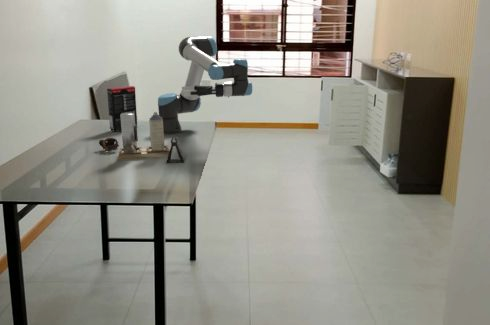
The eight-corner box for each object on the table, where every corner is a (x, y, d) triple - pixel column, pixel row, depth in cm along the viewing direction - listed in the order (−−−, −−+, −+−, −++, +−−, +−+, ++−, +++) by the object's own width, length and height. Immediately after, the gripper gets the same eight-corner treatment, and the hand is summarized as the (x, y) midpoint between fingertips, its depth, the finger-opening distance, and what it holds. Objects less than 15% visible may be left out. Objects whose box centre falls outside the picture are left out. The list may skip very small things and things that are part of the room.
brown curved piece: (122, 149, 289) (121, 138, 283) (114, 160, 283) (113, 149, 277) (103, 143, 291) (101, 132, 285) (94, 154, 284) (92, 143, 279)
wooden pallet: (119, 155, 275) (118, 148, 274) (169, 151, 280) (168, 145, 279) (118, 160, 265) (118, 153, 264) (170, 156, 269) (170, 150, 268)
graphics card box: (133, 126, 346) (129, 85, 339) (138, 128, 341) (135, 86, 334) (109, 130, 335) (105, 88, 328) (115, 132, 330) (111, 89, 323)
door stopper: (185, 159, 264) (183, 136, 261) (184, 162, 258) (182, 139, 255) (167, 160, 263) (165, 136, 260) (166, 163, 258) (164, 139, 254)
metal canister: (123, 151, 273) (120, 113, 268) (138, 150, 274) (135, 112, 269) (123, 154, 266) (119, 115, 261) (138, 153, 268) (135, 114, 262)
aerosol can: (165, 148, 276) (162, 110, 271) (164, 151, 270) (161, 113, 264) (151, 148, 276) (149, 111, 270) (150, 152, 269) (148, 113, 264)
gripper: (226, 100, 267) (185, 102, 263) (219, 93, 291) (181, 94, 287) (226, 85, 265) (184, 87, 261) (219, 79, 289) (180, 80, 285)
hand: (182, 91), depth 274 cm, fingers open, 13 cm apart
